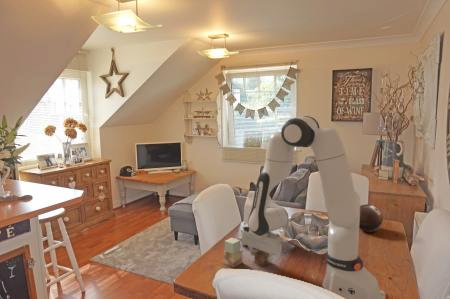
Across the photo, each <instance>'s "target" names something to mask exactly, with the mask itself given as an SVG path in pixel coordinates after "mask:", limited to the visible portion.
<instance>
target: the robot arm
mask: <svg viewBox="0 0 450 299" xmlns="http://www.w3.org/2000/svg"><path fill="white" fill-rule="evenodd" d="M342 142H343V141H342V140H341V137H340V135H339V133H338V132H337V130H336V129H334V128H332V127H321V128H320V124H319V122H318V121H317V120H316V118H314V117H312V116H310V115H309V116H308V115H304V116H299V115H298V116H296V117H293V118H290V119H288V120H286V121H285V123H284V124H283V125H282V127H281V131H276V132H273V133H272V134H271V135H270V136H269V137H268V141H267V146H266V150H265V151H266V152H265V160H264V165H263V169H262V170H261V172H260V174H259V176H258V178H257V180H256V186H255V194H254V198H253V200H252V208H251V212H250V215H249V218H248V224H246V225H245V226H244V225H243V226H241V227H242V228H241V230H242V231H243V232H242V243H243V244H245V245H244V246H247V247H248V250H249V252H250V254H249V255H250V256H254V253H255V252H256V250H254V249H257V250H262V251H264V252H267V253H269V255H270V257H268V258H267V261H268V262H269V263H271V262H273V258H274V256H276V257H278V256H279V255H281V254H282V252H283V250H282V249H283V248H282V238H281V236H279V234H277V233H274V231H277V230H279V229H282V228H284V227H286V226H287V225H288V223H289V214H288V211H287V210H286V208H285V207H283V206H281V205H279V204H278V203H276V202H275V201H274V200H273V199H272V198H271V196H270V193H271V191H272V190H273V189H274V188H275V187H277V186H278V184H280V183H281V182H284V181H285V180H286V179H288V177H289V176H290V175H291V173H292V169H293V160H294V151H295V148H296V147H297V148H309V147H310V148H311V149H312V152H313V155H314V159H315V162H316V166H317V169H318V174H319V177H320V180H321V186H322V193H323V198H324V199H323V200H324V203H325V209H326V214H327V217H328V220H329V221H328V222H329V223H328V231H327V251H326V255H325V256H326V257H325V262H326V263H325V264H326V269H325V270H326V271H325V275H324V279H323V282H322V288H323V289H324V288H325V289H328V290H330V291H332V292H334V293H336V294H338V295H341V296H342V297H345V298H346V299H386V293H385V291H384V290H382V289H381V288H380V286H379V281H378V279H377V278H376V277H375V276H374V275H373V274H372V273H371V272H370V271H369V270H367V269H366V268H365V267H364V262H365V258H361V257H360V255H359V239H360V237H359V236H360V228H359V222H360V206H361V199H360V196H359V194H358V193H357V192H356V191H355V187H354V182H353V176H352V172H351V168H350V165H349V161H348V157H347V153H346V151H345V147H344V143H342ZM242 243H241V244H242ZM243 244H242V245H243Z"/></svg>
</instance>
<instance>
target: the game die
mask: <svg viewBox="0 0 450 299" xmlns="http://www.w3.org/2000/svg"><path fill="white" fill-rule="evenodd" d="M242 232H243V229H240V235H239V236H238V237H237V239H238V240H240V244H242V247H243V248H244V247H245V246H246V245H245V244H243V243H242Z"/></svg>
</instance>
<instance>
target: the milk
mask: <svg viewBox="0 0 450 299" xmlns="http://www.w3.org/2000/svg"><path fill="white" fill-rule="evenodd" d="M254 194H255V191H253V190H250V191H248V194H247V197H246V200H245V202H244V206H243V207H244V208H243V226H245V225H246V224H248V218H249V215H250V212H251V208H252V200H253V198H254Z"/></svg>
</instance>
